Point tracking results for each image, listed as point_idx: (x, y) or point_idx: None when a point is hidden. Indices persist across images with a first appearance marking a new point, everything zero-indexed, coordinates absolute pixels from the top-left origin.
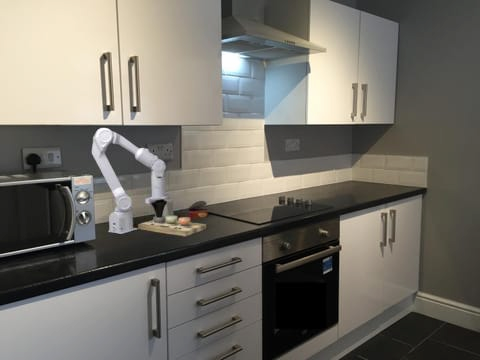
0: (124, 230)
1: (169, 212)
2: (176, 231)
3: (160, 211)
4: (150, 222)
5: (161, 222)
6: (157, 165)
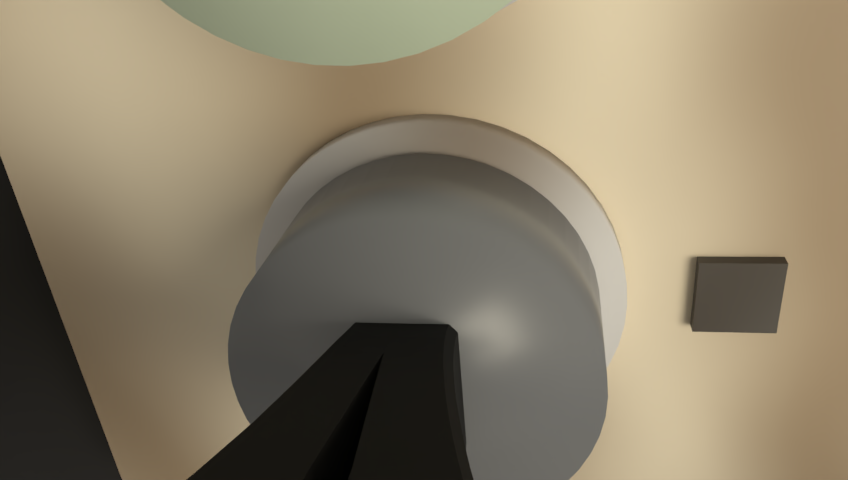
0: None
1: None
2: None
3: (431, 459)
4: None
5: (501, 172)
6: None
